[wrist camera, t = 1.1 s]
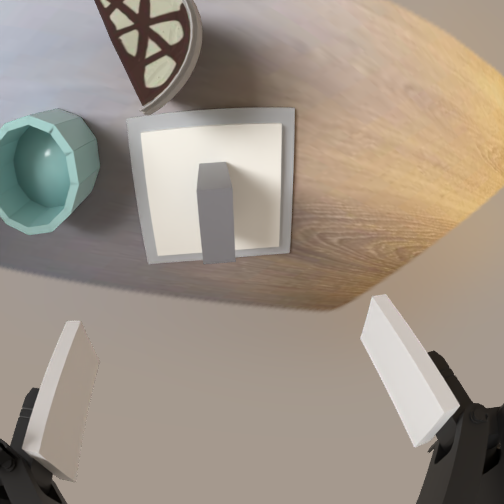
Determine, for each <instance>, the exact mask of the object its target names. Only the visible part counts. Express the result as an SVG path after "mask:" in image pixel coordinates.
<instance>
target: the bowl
mask: <svg viewBox="0 0 504 504" xmlns="http://www.w3.org/2000/svg"><path fill="white" fill-rule="evenodd" d="M99 169H100V161H99V154H98V146H97V139H96V137H95V136H94V134H93V133H92V132H91V130H90V129H89V128H88V126H87V125H86V123H85V122H84V121H83V119H82V118H81V117H80V116H77V115H75V114H72V113H69V112H67V111H64V110H61V109H59V108H58V109H53V110H49V111H44V112H40V113H36V114H32V115H28V116H25V117H22V118H19V119H16V120H14V121H11V122H8V123H5V124H4V125H3V127H2V128H1V129H0V217H1V218H2V219H3V221H4V222H5V223H6V224H7V225H9V226H11V227H13V228H15V229H17V230H19V231H21V232H23V233H25V234H27V235H34V234H41V233H49V232H53V231H54V230H55V229H56V228H57V227H58V226H59V225H60V224H61V223H62V222H63V221H64V220H65V219H66V218H67V217H68V216H69V215H70V214H71V213H72V212H73V211H74V210H75V209H76V208H77V207H78V206H79V205H80V204H81V203H82V201H83V200H84V199H85V198H86V197H87V196H88V195H89V194H90V193H91V192H92V190H93V187H94V184H95V181H96V178H97V175H98V172H99Z"/></svg>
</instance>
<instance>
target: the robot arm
mask: <svg viewBox="0 0 504 504" xmlns="http://www.w3.org/2000/svg"><path fill="white" fill-rule="evenodd" d="M360 339H361V341H362V343H363V344H364V346H365V348H366V350H367V352H368V354H369V356H370V358H371V360H372V362H373V364H374V366H375V368H376V370H377V372H378V374H379V376H380V378H381V379H382V381H383V383H384V385H385V387H386V389H387V391H388V393H389V396H390V398H391V399H392V402H393V404H394V405H395V408H396V410H397V412H398V414H399V416H400V418H401V420H402V422H403V424H404V427H405V429H406V431H407V433H408V435H409V437H410V439H411V442H412V444H413V446H414V447H417V446H420V445H422V444H424V443H427V442H429V441H430V440H431V439H432V438H433V437H434V436H435V435H436V436H437V439H438V440H437V441H436V442H435V443H434V444H433V445H432V446H431V447H430V449H429V451H428V452H431V451H432V450H433V449H434V451H433V455H432V458H431V462H430V465H429V468H428V472H427V474H426V478H425V481H424V484H423V487H422V489H421V492H420V495H419V498H418V500H417V503H416V504H504V404H503V405H502V406H501V407H494V408H485V407H484V406H483V405H480V404H479V403H473V402H472V401H471V399H470V398H469V396H468V395H467V393H466V392H465V390H464V388H463V387H462V385H461V384H460V382H459V381H458V379H457V377H456V376H454V373H453V371H452V370H451V369H450V368H449V365H448V364H447V362H446V361H445V359H444V358H443V357H442V356H441V355H439V354H438V353H437V352H435V351H431V352H428V353H427V352H426V351H425V349H424V347H423V346H422V344H421V343H420V342H419V340H418V339H417V337H416V336H415V334H414V333H413V331H412V330H411V328H410V327H409V325H408V324H407V323H406V321H405V320H404V318H403V317H402V315H401V314H400V313H399V311H398V310H397V308H396V307H395V306H394V304H393V303H392V302H391V300H390V299H389V297H388V296H387V295H386V294H383V295H377V296H372V298H371V302H370V306H369V310H368V314H367V318H366V321H365V324H364V328H363V331H362V335H361V338H360ZM99 364H100V360H99V358H98V357H97V354H96V352H95V350H94V348H93V346H92V344H91V342H90V340H89V338H88V336H87V334H86V331H85V329H84V327H83V325H82V322H81V321H67V322H66V324H65V326H64V328H63V331H62V333H61V335H60V338H59V340H58V342H57V345H56V347H55V350H54V352H53V355H52V357H51V360H50V362H49V365H48V368H47V370H46V373H45V376H44V379H43V381H42V384H41V387H40V389H39V388H32V389H31V391H30V392H29V393H28V394H27V396H26V397H25V400H24V403H23V406H22V408H23V409H22V410H21V412H20V417H19V418H18V421H17V425H16V428H15V431H14V435H13V438H12V442H11V445H10V446H9V445H8V444H7V443H6V442H5V441H3V440H2V439H0V504H67V503H66V501H65V499H64V498H63V496H62V494H61V493H60V491H59V489H58V487H57V486H56V484H55V482H54V481H53V480H52V475H53V474H54V475H55V476H56V477H58V478H59V479H62V480H67V481H72V482H76V477H77V470H78V463H79V457H80V451H81V445H82V439H83V434H84V429H85V423H86V418H87V414H88V409H89V405H90V400H91V396H92V391H93V387H94V383H95V379H96V375H97V371H98V367H99ZM500 446H501V447H500Z"/></svg>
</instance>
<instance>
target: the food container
mask: <svg viewBox="0 0 504 504" xmlns="http://www.w3.org/2000/svg"><path fill="white" fill-rule="evenodd" d="M94 1H95V3H96V5H97V8H98V10H99V12H100V15H101V17H102V20H103V22H104V24H105V27H106V29H107V32H108V34H109V37H110V39H111V41H112V43H113V45H114V47H115V49H116V52H117V54H118V56H119V58H120V60H121V62H122V64H123V66H124V68H125V70H126V72H127V74H128V76H129V79H130V81H131V83H132V85H133V87H134V89H135V91H136V93H137V95H138V97H139V99H140V101H141V103H142V105H143V107H142V108H141V109H140V110H139V111H142V112H143V114H145V115H148V116H149V115H151V114H152V113H154V112H156V111H157V110H159V109H160V108H162V107H163V106H164V105H165V104H166V103H168V102H169V101H170V100H171V99H172V98H173V97H174V96H175V95H176V94H177V93H178V92H179V91H180V90H181V89H182V87H183V86H184V84H185V83H186V82H187V80H188V79H189V77H190V75H191V73H192V72H193V70H194V68H195V66H196V63H197V60H198V58H199V55H200V50H201V45H202V23H201V17H200V14H199V12H198V9H197V6H196V5H195V3H194V1H193V0H94Z"/></svg>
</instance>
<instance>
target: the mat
mask: <svg viewBox="0 0 504 504" xmlns="http://www.w3.org/2000/svg"><path fill="white" fill-rule="evenodd" d="M126 120H127V131H128V140H129V149H130V158H131V166H132V173H133V181H134V188H135V194H136V201H137V207H138V213H139V219H140V225H141V230H142V236H143V241H144V246H145V251H146V256H147V261H148V264H156V263H169V262H182V261H195V260H203V255H202V253H190V254H178V255H165V256H158V255H157V249H156V244H155V238H154V232H153V226H152V220H151V213H150V207H149V200H148V193H147V186H146V178H145V170H144V161H143V152H142V143H141V132H144V131H151V130H160V129H169V128H179V127H189V126H202V125H217V124H237V123H281V124H282V146H281V198H280V233H279V247H268V248H255V249H242V250H235V257H246V256H259V255H271V254H284V253H290V239H291V219H292V195H293V167H294V126H295V108H288V107H251V108H223V109H206V110H193V111H181V112H171V113H162V114H154V115H149V116H148V115H146V116H139V117H132V118H127V119H126Z"/></svg>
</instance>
